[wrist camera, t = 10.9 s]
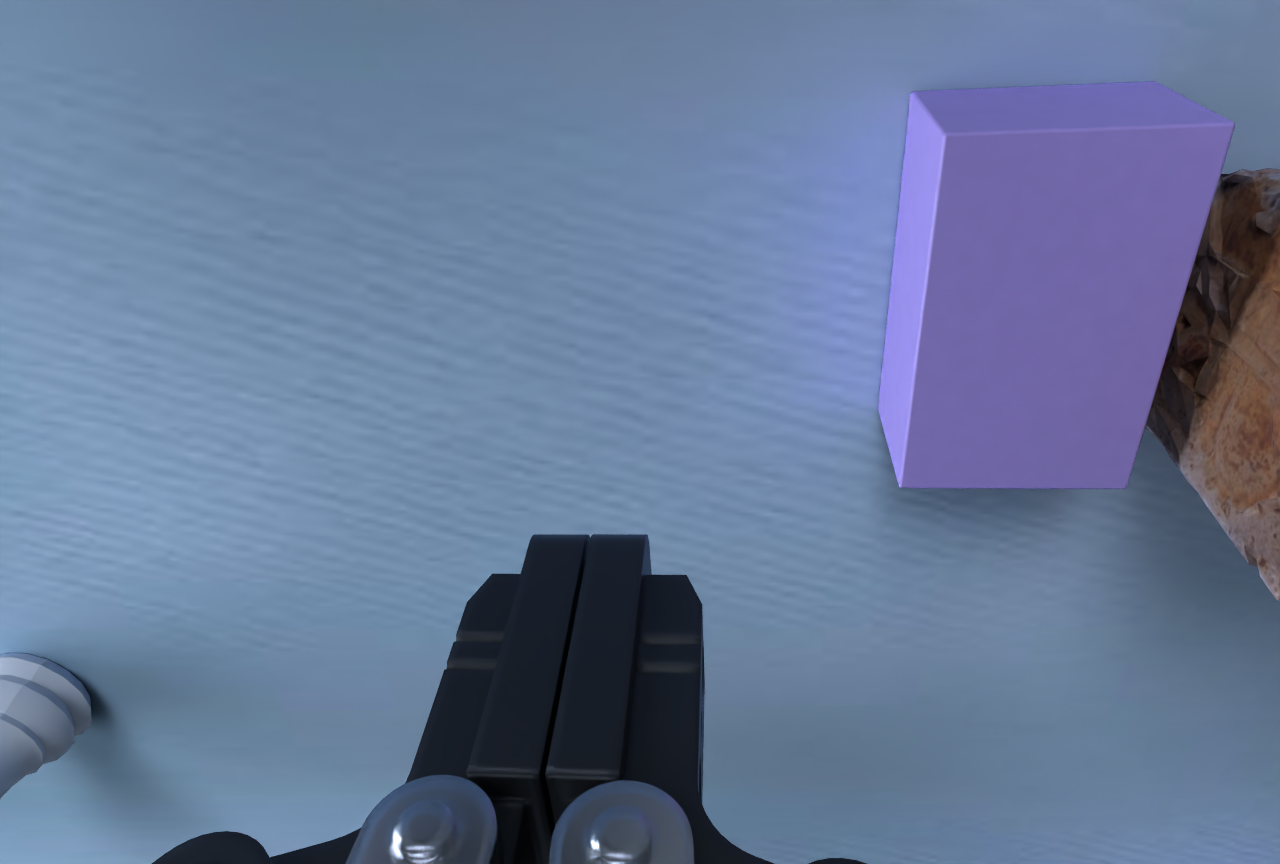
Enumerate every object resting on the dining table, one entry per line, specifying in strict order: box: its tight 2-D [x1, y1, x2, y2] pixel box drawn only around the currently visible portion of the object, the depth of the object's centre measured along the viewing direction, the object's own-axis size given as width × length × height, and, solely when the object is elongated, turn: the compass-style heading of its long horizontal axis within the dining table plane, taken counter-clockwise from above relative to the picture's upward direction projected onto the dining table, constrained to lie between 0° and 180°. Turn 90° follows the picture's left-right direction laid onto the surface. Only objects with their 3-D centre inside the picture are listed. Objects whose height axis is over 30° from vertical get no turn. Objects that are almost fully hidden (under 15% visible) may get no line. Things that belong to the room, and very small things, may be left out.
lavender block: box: [878, 81, 1235, 489], centre depth 19 cm, size 8×5×4 cm, turn 3°
